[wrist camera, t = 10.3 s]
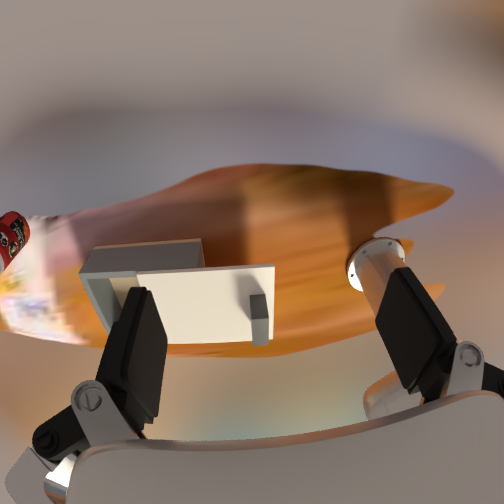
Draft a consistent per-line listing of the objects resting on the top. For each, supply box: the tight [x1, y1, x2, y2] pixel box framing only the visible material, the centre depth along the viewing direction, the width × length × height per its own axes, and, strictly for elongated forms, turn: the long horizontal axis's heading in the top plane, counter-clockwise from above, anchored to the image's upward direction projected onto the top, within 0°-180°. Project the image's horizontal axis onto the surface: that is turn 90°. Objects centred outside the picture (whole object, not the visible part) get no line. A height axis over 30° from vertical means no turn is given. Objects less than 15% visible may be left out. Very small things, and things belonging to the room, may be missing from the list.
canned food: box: [0, 211, 30, 274], centre depth 38 cm, size 8×8×11 cm
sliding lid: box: [136, 263, 275, 346], centre depth 43 cm, size 20×16×6 cm
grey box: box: [78, 238, 205, 335], centre depth 48 cm, size 20×16×8 cm
